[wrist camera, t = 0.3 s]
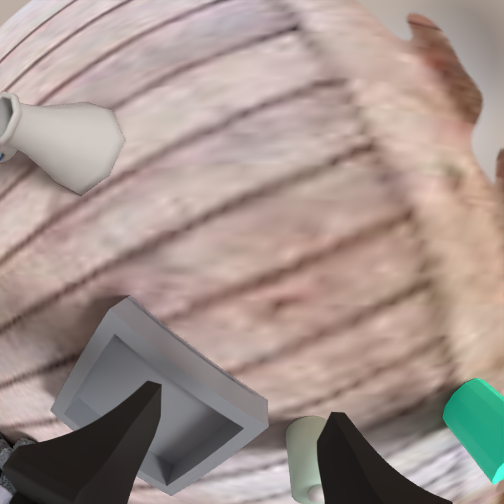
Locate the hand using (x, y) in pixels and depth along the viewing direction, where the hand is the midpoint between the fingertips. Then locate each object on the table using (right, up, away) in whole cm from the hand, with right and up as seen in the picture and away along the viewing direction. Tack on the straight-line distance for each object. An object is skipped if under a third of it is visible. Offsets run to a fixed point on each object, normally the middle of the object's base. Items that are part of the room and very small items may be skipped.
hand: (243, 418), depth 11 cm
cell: (+5, -9, +11) cm, 15 cm away
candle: (+22, -9, +11) cm, 26 cm away
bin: (-8, -6, +11) cm, 15 cm away
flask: (-13, +15, +9) cm, 22 cm away
